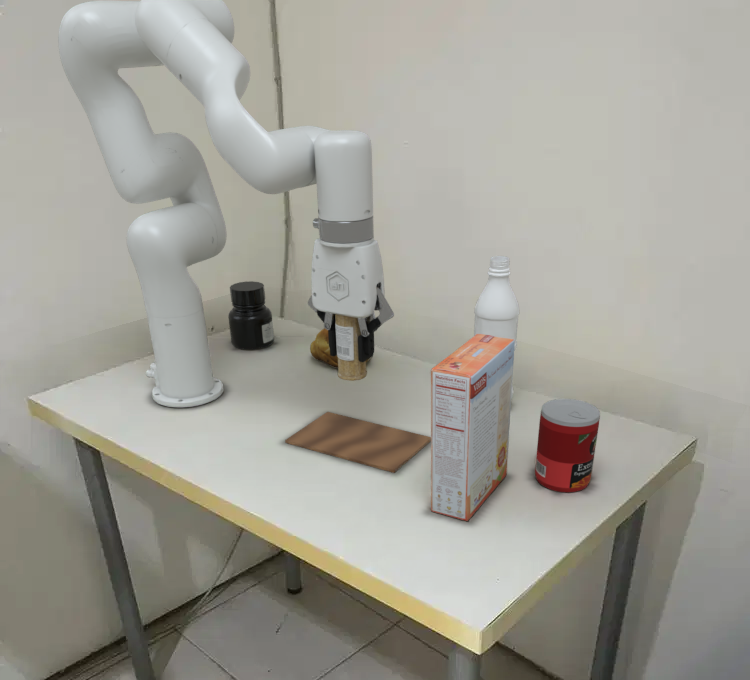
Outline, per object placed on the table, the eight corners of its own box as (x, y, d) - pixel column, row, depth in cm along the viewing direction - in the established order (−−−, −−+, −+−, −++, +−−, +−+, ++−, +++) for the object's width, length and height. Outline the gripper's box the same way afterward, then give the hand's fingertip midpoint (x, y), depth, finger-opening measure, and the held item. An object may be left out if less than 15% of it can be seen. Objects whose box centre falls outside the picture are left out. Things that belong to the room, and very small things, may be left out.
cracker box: (469, 467, 114) (476, 331, 103) (507, 476, 112) (518, 338, 101) (426, 512, 104) (428, 366, 93) (467, 523, 102) (474, 375, 91)
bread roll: (300, 362, 151) (297, 322, 147) (333, 347, 158) (331, 309, 154) (349, 377, 144) (348, 336, 140) (382, 361, 151) (381, 321, 147)
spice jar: (372, 377, 117) (370, 288, 110) (347, 384, 115) (343, 294, 108) (356, 367, 120) (353, 281, 113) (331, 374, 118) (326, 287, 111)
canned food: (579, 499, 106) (589, 427, 100) (525, 484, 110) (532, 414, 104) (597, 475, 112) (608, 405, 106) (545, 461, 115) (552, 393, 109)
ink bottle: (278, 348, 158) (272, 290, 152) (234, 353, 156) (227, 295, 150) (270, 333, 166) (264, 277, 160) (229, 338, 164) (222, 281, 158)
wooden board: (285, 442, 122) (284, 440, 122) (327, 414, 131) (327, 411, 131) (394, 473, 113) (394, 470, 113) (432, 440, 122) (432, 437, 122)
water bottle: (464, 411, 131) (471, 262, 117) (476, 395, 136) (483, 251, 123) (506, 417, 128) (517, 266, 115) (516, 400, 134) (528, 254, 121)
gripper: (280, 230, 107) (291, 355, 117) (385, 242, 100) (387, 375, 109) (312, 219, 113) (319, 339, 122) (413, 230, 105) (413, 357, 115)
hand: (351, 355), depth 116 cm, fingers closed on spice jar, 4 cm apart
